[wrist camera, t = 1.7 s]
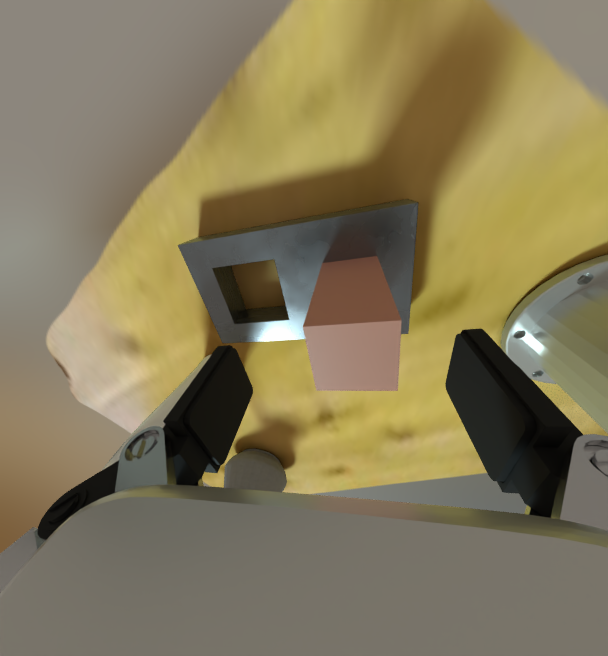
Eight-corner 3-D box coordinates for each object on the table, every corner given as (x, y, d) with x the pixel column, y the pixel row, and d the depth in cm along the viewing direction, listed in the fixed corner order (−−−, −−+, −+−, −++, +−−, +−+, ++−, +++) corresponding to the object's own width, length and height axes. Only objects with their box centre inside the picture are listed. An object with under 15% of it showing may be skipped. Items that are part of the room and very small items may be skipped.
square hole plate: (407, 199, 16) (418, 202, 14) (401, 316, 22) (408, 333, 19) (198, 237, 21) (177, 245, 18) (234, 327, 26) (222, 343, 23)
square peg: (377, 255, 16) (401, 320, 9) (377, 305, 18) (397, 390, 11) (322, 263, 17) (302, 326, 10) (328, 309, 19) (316, 390, 12)
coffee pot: (300, 473, 43) (281, 591, 31) (252, 475, 47) (218, 580, 35) (239, 402, 34) (177, 530, 21) (186, 412, 38) (108, 525, 26)
